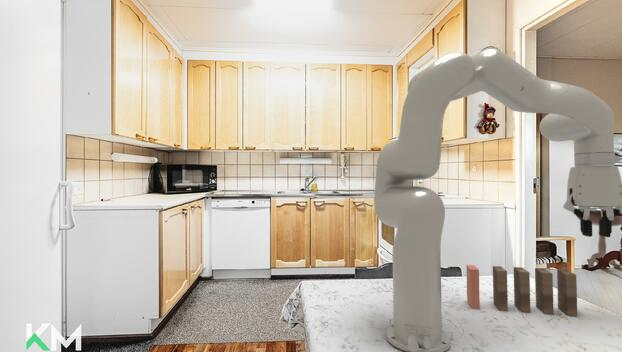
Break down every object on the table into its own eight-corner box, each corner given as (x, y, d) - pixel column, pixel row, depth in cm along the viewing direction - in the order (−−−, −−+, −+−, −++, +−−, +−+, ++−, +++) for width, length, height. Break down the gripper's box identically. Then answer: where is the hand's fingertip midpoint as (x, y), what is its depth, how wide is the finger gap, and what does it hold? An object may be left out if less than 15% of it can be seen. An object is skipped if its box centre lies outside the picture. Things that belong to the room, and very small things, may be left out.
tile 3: (530, 313, 83) (529, 272, 83) (521, 312, 83) (520, 271, 83) (523, 305, 87) (522, 267, 88) (514, 305, 88) (513, 267, 88)
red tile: (479, 309, 85) (478, 269, 86) (471, 308, 86) (470, 269, 86) (475, 302, 90) (474, 265, 90) (467, 301, 91) (466, 264, 91)
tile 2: (553, 314, 81) (552, 273, 82) (544, 314, 82) (543, 273, 82) (544, 307, 86) (543, 268, 86) (535, 306, 87) (534, 268, 87)
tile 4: (507, 311, 84) (507, 271, 84) (499, 310, 84) (498, 270, 84) (501, 304, 89) (500, 266, 89) (493, 303, 89) (492, 266, 89)
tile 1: (577, 316, 80) (576, 274, 80) (567, 315, 81) (566, 274, 81) (567, 309, 85) (566, 269, 85) (558, 308, 85) (557, 269, 86)
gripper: (623, 161, 84) (625, 234, 83) (548, 163, 88) (550, 233, 87) (645, 159, 76) (647, 239, 76) (562, 161, 80) (564, 237, 80)
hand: (596, 235), depth 82 cm, fingers open, 3 cm apart
